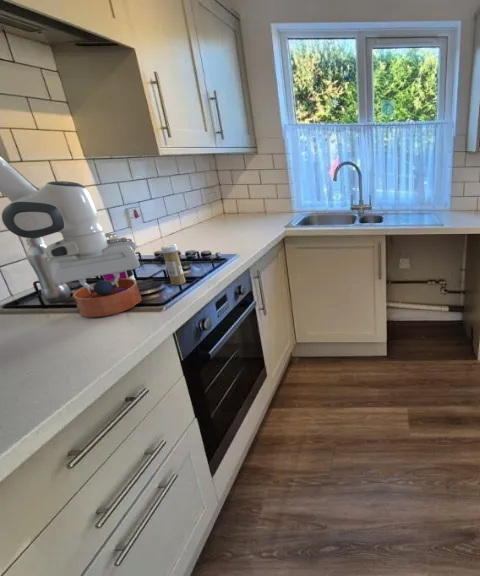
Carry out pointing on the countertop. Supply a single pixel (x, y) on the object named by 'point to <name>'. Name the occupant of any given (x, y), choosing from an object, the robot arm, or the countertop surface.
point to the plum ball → (120, 290)
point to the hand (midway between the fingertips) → (104, 289)
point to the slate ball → (103, 287)
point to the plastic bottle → (44, 271)
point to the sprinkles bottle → (173, 264)
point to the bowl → (108, 299)
